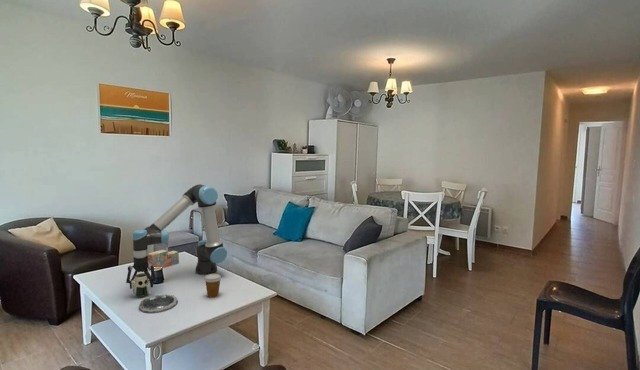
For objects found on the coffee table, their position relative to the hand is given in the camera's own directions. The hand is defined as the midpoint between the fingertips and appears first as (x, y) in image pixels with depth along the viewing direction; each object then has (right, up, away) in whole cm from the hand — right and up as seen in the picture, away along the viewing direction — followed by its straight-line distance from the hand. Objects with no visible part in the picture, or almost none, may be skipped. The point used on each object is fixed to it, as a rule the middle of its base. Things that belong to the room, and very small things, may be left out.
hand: (141, 293), depth 203 cm
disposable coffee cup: (+41, -3, +4) cm, 42 cm away
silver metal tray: (+15, -3, -10) cm, 19 cm away
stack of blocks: (-11, +3, +51) cm, 53 cm away
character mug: (0, -2, 0) cm, 2 cm away
